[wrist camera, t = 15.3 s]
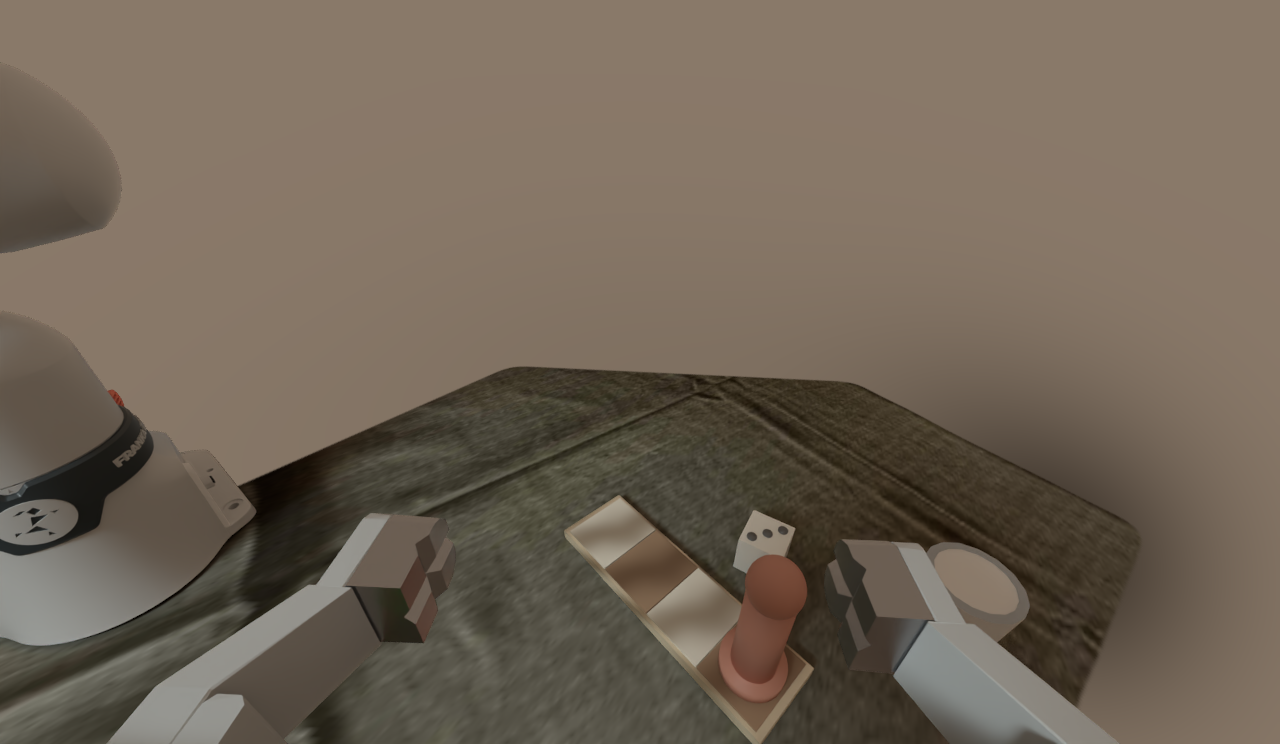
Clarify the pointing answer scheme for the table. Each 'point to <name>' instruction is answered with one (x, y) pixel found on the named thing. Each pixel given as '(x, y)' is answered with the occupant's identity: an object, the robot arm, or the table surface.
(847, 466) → the table surface
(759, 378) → the table surface
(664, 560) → the board
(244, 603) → the table surface
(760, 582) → the pawn
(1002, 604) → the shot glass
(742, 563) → the die
